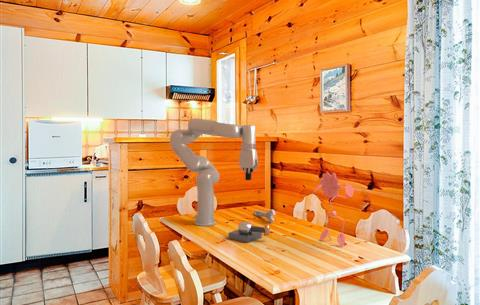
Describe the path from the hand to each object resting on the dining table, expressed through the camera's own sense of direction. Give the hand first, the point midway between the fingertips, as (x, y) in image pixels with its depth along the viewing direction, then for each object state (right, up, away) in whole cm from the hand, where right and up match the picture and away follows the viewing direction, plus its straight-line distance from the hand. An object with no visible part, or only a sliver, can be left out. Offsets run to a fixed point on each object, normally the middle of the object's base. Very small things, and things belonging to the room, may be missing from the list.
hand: (248, 180), depth 201 cm
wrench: (+10, -27, +24) cm, 37 cm away
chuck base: (-2, -28, -19) cm, 34 cm away
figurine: (+38, -29, -28) cm, 55 cm away
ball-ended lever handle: (+2, -25, -21) cm, 33 cm away
